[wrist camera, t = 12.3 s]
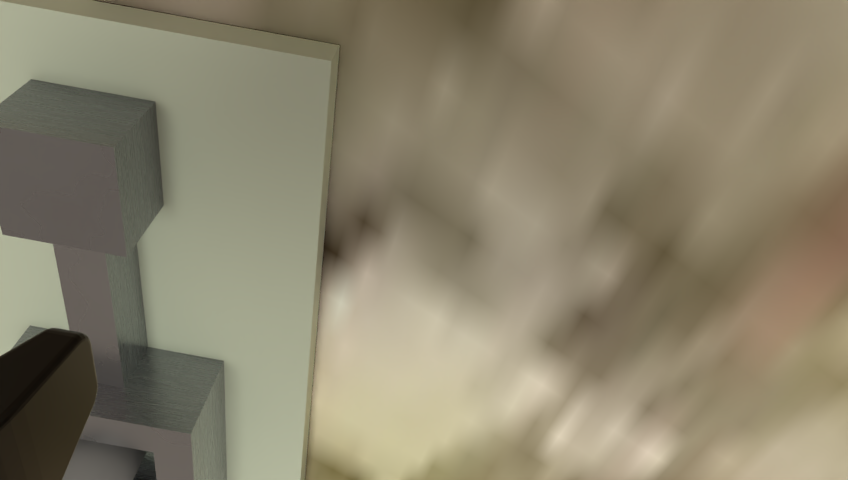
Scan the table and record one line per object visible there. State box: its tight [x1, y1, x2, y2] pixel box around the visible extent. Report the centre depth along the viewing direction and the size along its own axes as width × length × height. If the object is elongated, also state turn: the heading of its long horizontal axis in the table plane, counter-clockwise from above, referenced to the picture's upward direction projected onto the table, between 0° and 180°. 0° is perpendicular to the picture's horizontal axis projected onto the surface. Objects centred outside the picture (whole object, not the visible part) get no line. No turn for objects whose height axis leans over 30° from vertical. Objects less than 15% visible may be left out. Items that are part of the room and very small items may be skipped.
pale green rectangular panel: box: [0, 0, 340, 480], centre depth 23 cm, size 12×20×5 cm, turn 172°
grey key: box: [0, 79, 227, 480], centre depth 22 cm, size 6×15×3 cm, turn 172°
